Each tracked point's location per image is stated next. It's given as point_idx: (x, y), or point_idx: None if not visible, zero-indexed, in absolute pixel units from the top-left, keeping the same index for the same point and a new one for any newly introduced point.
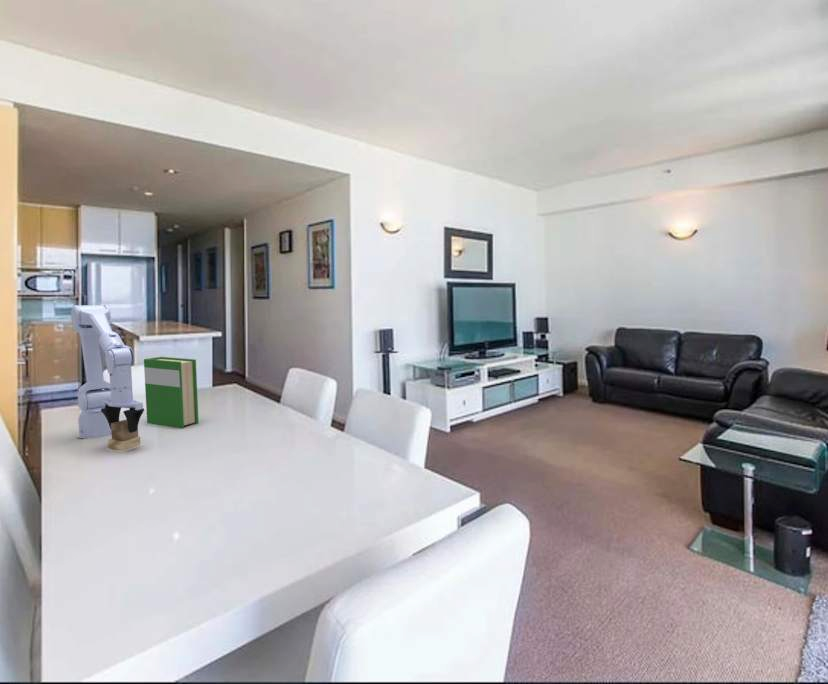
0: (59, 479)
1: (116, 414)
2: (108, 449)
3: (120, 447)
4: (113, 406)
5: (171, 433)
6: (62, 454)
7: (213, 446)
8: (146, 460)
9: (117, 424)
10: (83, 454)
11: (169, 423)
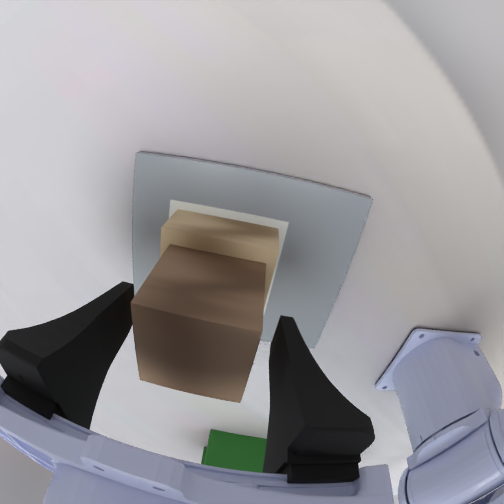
0: None
1: (274, 420)
2: (272, 220)
3: (190, 218)
4: (268, 475)
5: (203, 404)
6: (452, 163)
7: (11, 304)
8: (41, 156)
9: (187, 315)
10: (368, 166)
11: (259, 445)
